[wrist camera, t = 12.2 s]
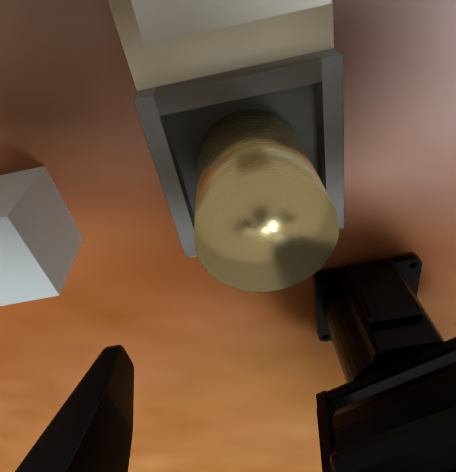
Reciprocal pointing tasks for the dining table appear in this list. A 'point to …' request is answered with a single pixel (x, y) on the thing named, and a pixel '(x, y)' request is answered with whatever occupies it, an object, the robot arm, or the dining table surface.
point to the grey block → (34, 237)
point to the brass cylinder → (260, 205)
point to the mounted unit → (232, 83)
